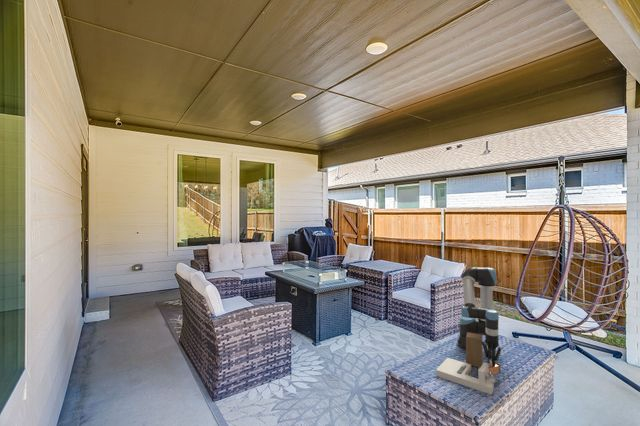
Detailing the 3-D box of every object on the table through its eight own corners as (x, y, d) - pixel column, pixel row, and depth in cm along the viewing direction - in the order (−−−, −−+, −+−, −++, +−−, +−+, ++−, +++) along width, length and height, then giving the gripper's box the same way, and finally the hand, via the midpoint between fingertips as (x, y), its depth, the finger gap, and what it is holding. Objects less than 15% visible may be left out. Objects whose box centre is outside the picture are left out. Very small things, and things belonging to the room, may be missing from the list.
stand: (447, 363, 222) (447, 347, 222) (499, 379, 201) (499, 361, 201) (436, 375, 206) (436, 358, 206) (491, 394, 184) (491, 375, 184)
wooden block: (467, 358, 228) (467, 331, 228) (482, 361, 223) (482, 334, 223) (466, 364, 220) (465, 336, 220) (481, 368, 215) (481, 339, 214)
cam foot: (487, 387, 192) (487, 372, 191) (473, 379, 200) (473, 365, 200) (506, 380, 199) (506, 366, 199) (493, 373, 208) (493, 359, 208)
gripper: (479, 332, 206) (478, 366, 207) (499, 338, 196) (498, 375, 196) (485, 329, 211) (484, 363, 211) (504, 336, 200) (504, 371, 200)
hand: (491, 369), depth 204 cm, fingers closed
